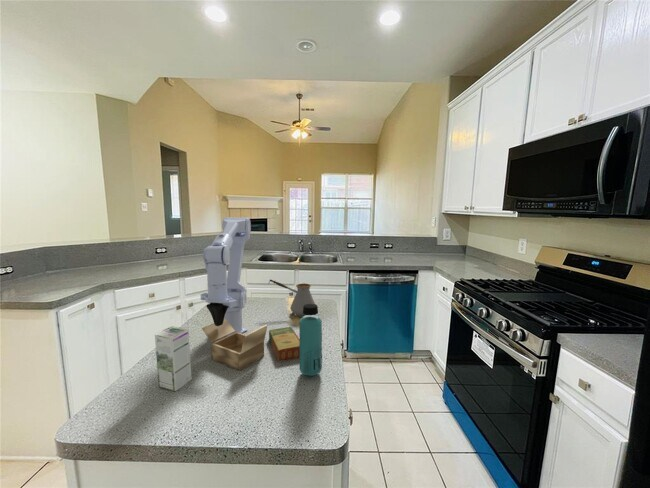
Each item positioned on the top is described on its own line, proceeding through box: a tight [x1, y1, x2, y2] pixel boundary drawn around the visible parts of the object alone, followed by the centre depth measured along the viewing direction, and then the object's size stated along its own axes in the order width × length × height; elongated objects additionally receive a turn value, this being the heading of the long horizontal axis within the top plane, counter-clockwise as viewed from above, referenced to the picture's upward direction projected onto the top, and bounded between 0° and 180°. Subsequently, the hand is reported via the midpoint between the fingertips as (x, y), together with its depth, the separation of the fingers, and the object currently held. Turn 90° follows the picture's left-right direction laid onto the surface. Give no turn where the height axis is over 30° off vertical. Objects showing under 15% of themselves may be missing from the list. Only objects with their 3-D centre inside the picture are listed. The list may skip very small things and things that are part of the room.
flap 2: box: [241, 324, 268, 353], centre depth 84 cm, size 6×9×1 cm
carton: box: [268, 326, 300, 363], centre depth 95 cm, size 8×16×4 cm, turn 21°
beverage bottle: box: [298, 303, 323, 377], centre depth 79 cm, size 6×7×20 cm
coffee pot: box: [267, 279, 316, 318], centre depth 126 cm, size 21×12×15 cm, turn 84°
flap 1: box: [201, 319, 235, 343], centre depth 92 cm, size 6×9×1 cm
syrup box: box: [154, 325, 192, 392], centre depth 74 cm, size 6×6×14 cm
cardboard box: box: [210, 332, 265, 372], centre depth 88 cm, size 12×10×5 cm
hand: (218, 324), depth 92 cm, fingers closed
